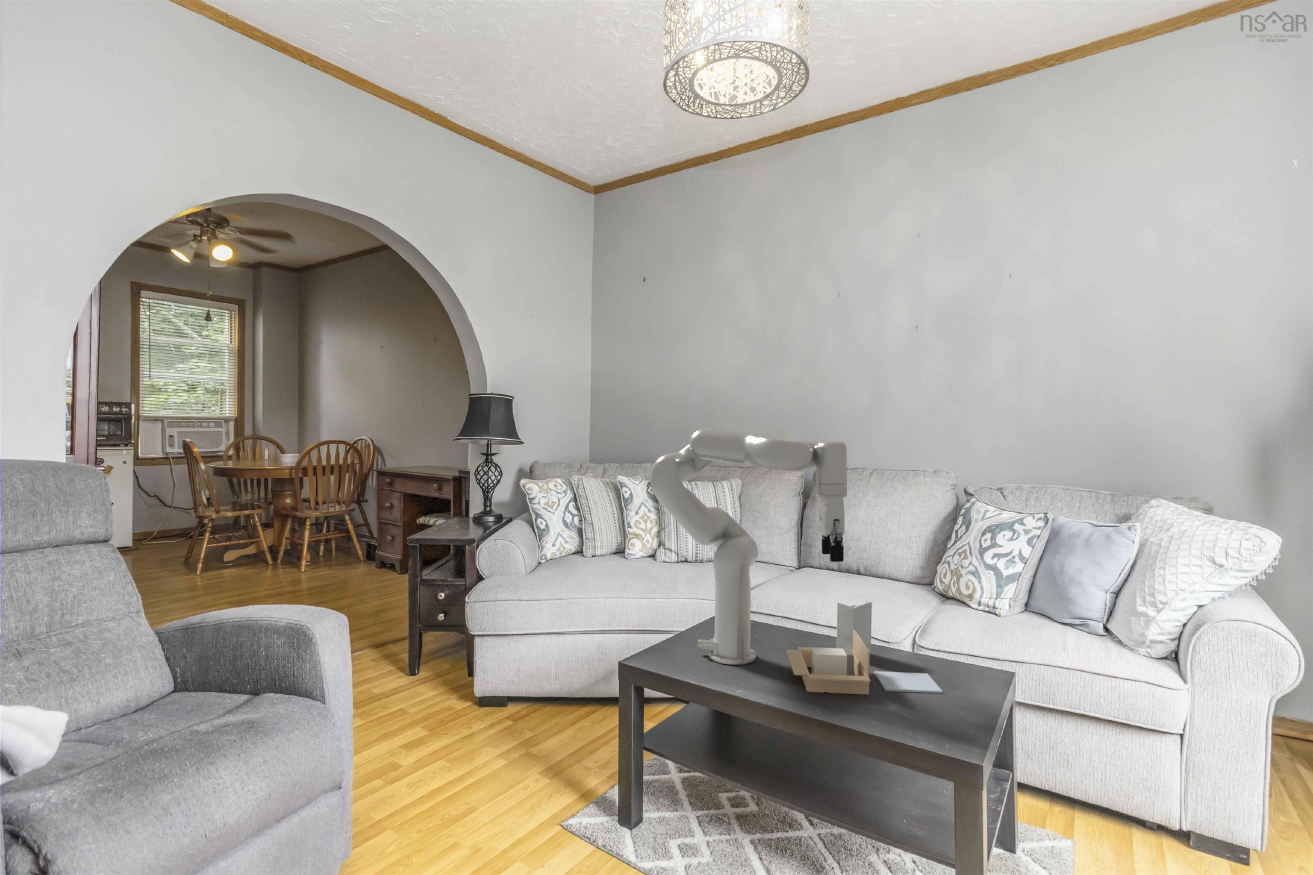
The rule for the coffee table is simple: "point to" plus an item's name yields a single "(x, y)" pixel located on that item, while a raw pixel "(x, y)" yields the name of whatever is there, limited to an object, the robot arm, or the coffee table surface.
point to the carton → (834, 682)
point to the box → (832, 661)
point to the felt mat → (907, 682)
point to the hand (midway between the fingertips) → (832, 557)
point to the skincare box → (854, 622)
